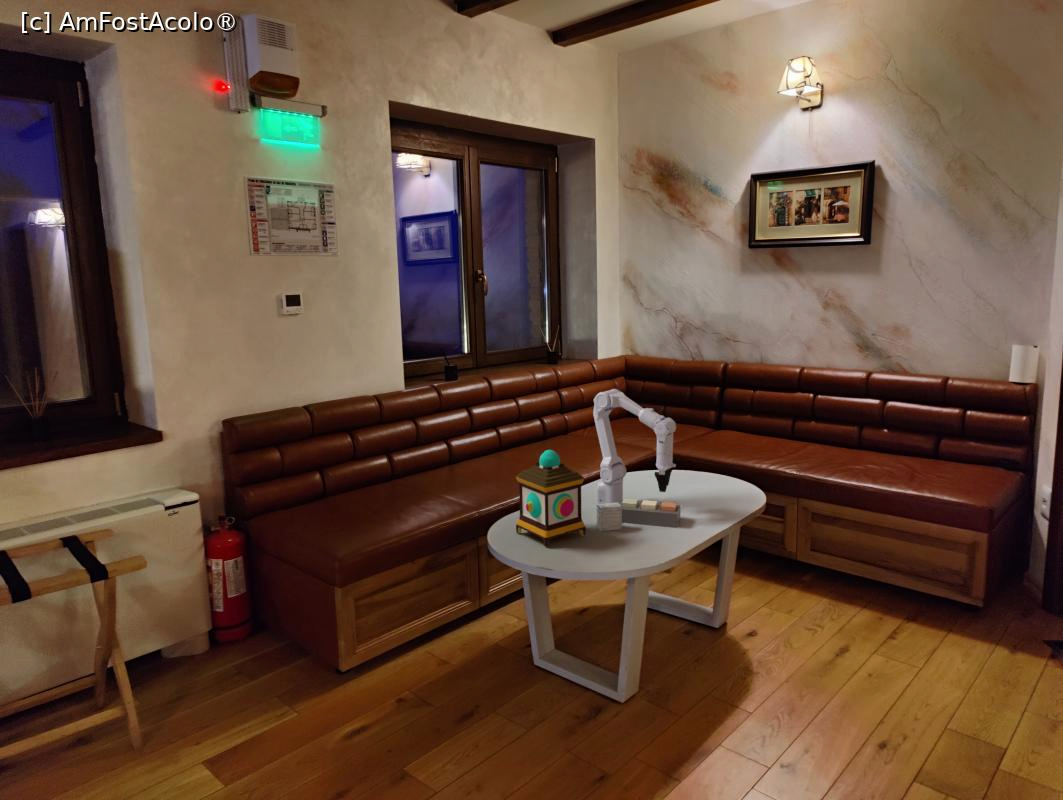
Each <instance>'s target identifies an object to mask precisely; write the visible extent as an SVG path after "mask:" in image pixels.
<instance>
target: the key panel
mask: <svg viewBox="0 0 1063 800" xmlns="http://www.w3.org/2000/svg"><path fill="white" fill-rule="evenodd" d="M642 502H643V501H639V500H638V506H637V508H625V507H622V523H623V524H624V523H625V524H633V525H643V526H644V525H645V526H656V527H667V528H676V529H677V528H678V527H679V523H680V520H681V511H682V510H681V509H682V508H681V507H682V506H681V505H682V504H677V511H676V512H672V511H661V505H662V503H663V502H662V503H660V502H657V509H656V510H648V509H641V504H642ZM620 505H621V506H622V502H621V504H620Z"/></svg>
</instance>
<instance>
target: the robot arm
mask: <svg viewBox="0 0 1063 800" xmlns="http://www.w3.org/2000/svg"><path fill="white" fill-rule="evenodd" d="M593 403H594V404H593V411H592V414H593V418H594V423H595V429H596V433H597V437H598V438H597V439H598V443H599V446H600V451H601V454H602V461H601V462H600V465H599V466H600V473H599V476H600V479H601V480H599V481H598V484H597V504H605V503H619V504H621V502H622V501H623V500H624V497H623V495H624V494H623V493H624V492H623V491H624V489H623V488H624V484H623V483H624V477H626V476H627V468H626V466H625V464H624V463H623V459H622V458H621V457H620V456H619V455H618V452H617V447H616V443H615V439H614V434H613V431H612V425H611V422H610V417H609V415H610V414H611V412H612V410H614V409H615V408H622V409H623V410H626V411H628V412H629V413H631V414H632V415H633V414H634V416H637V417H638V419H639V421H640V423H642V424H644V425H646V426H647V427H649V428H650V429H652V430H653V432H654V433H655V436H656V462H655V466H656V468H657V469H658V471H655V472H654V477H655V479H656V481H657V485H658V491H659V492H661V493H666V492H667V488H668V486H669V484H670V480H671V475H672V471H673V469H675V468H676V466H677V464H676V463H673V460H674V459H673V452H674V450H673V449H674V433H675V431H676V430H677V424H676V421H675V420H673V418H671V417H665V416H664V415H661V414H659V413H658V412H656V411H654V410H655V409H654V408H652V407H650V408H649V407H646V408H643V407H642V406H641V405H639V404H638V403H637V402H635V401H633V400H632V399H630V398H629V397H628V396H627V395H625V393H624V392H622V391H620V390H619V389H617V388H612V389H610V390H605V391H600V392H598V393H597V394H596V395H595V396H594V398H593Z"/></svg>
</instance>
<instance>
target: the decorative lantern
mask: <svg viewBox="0 0 1063 800" xmlns="http://www.w3.org/2000/svg"><path fill="white" fill-rule="evenodd" d="M538 461H539V462H536V463H535V465H532V466H531V467H529V468H528V469H523V470H522V471H521V472H519V473H518V474H517V475H515V479H516V480H517V482H518V491H519V518H518V520H517V522H516V525H515V530H516V533H517V534H518V533H520V532H521V533H522V530H524V531H526V532H528V533H529V534H532V535H535V536H536V537H539V538H540V539H541V540H542V541H543V544H544V547H545V548H548V547H549V543H550V540H552V539H553V538H557V537H562V536H564V535H568V534H571V533H574V532H578V531H579V532H580V535H581V537H585V536H586V533H587V530H586V525H585V523H584V521H583V517H582V484H583V482H584V481H585V477H584V476H583V475H582V474H580V473H579V472H578V471H576V470H573V469H570V468H568V467H567V466H566V465H565V464H564V463H562V462H561V458H560V456H559V454H558V453H557V452H556V451H554V450H552V449H547V450H544V452H543V453H541V455H540V457H539V460H538ZM521 533H520V534H521Z"/></svg>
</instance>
